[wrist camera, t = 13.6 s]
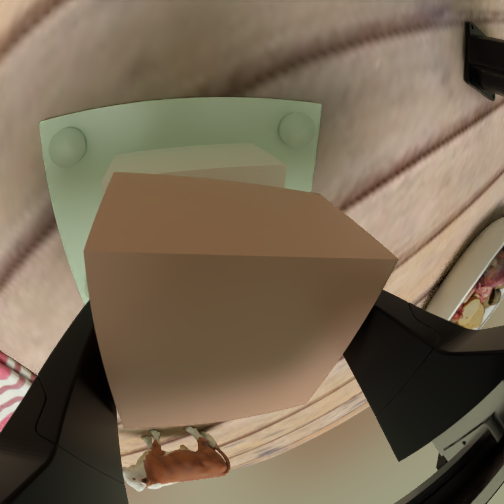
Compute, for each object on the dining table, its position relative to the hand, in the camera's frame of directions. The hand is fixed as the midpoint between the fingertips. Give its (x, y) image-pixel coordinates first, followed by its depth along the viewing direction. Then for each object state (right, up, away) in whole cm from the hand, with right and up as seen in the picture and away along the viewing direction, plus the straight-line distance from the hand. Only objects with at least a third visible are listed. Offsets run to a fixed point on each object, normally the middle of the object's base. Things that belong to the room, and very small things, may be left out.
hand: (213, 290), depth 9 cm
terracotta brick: (0, +1, +1) cm, 1 cm away
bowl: (+36, -4, +27) cm, 46 cm away
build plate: (-2, +4, +6) cm, 7 cm away
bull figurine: (-10, -21, +20) cm, 31 cm away
